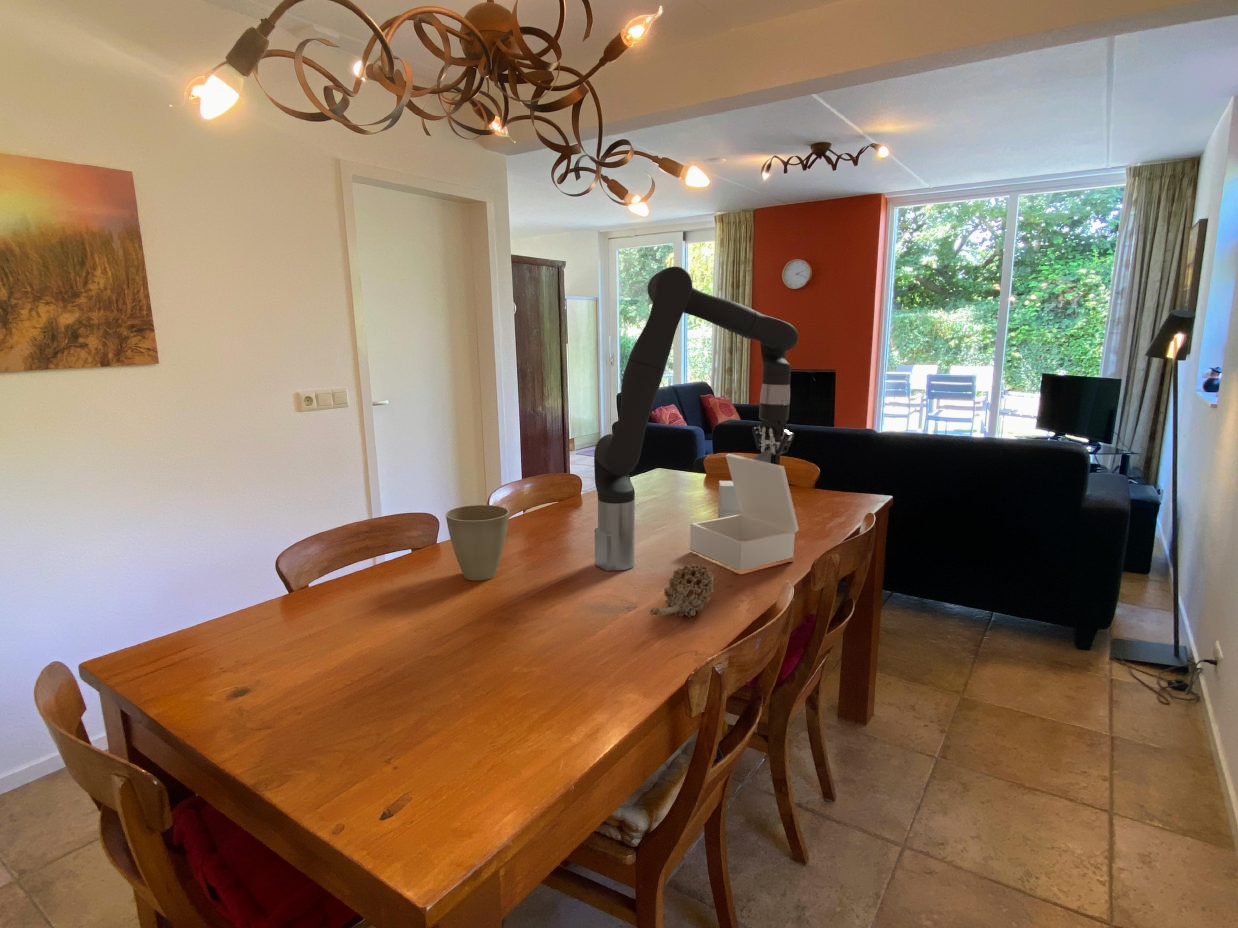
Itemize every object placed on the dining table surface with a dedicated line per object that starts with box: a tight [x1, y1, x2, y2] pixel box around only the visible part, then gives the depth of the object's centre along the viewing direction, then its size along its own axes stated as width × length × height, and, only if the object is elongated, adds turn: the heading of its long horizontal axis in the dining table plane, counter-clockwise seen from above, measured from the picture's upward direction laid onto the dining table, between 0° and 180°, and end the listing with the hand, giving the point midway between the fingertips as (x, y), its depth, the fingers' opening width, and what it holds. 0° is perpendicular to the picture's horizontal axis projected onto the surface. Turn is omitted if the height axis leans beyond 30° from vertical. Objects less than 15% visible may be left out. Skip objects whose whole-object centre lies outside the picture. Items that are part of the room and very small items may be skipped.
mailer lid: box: [725, 446, 800, 533], centre depth 174 cm, size 18×20×8 cm
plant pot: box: [445, 504, 510, 582], centre depth 158 cm, size 15×15×16 cm
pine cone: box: [648, 563, 715, 618], centre depth 134 cm, size 22×10×10 cm, turn 150°
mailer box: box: [689, 514, 796, 571], centre depth 171 cm, size 18×20×8 cm
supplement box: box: [717, 480, 741, 519], centre depth 202 cm, size 7×7×13 cm
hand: (770, 467), depth 172 cm, fingers closed on mailer lid, 2 cm apart
